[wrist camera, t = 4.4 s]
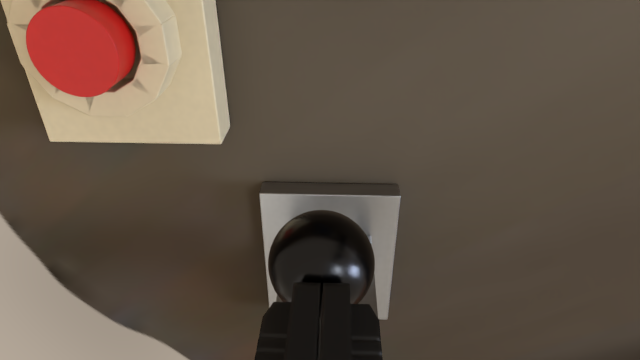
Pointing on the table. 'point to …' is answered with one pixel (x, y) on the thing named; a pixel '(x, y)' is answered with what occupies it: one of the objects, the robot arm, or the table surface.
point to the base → (350, 200)
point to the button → (80, 46)
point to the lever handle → (321, 254)
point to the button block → (141, 78)
